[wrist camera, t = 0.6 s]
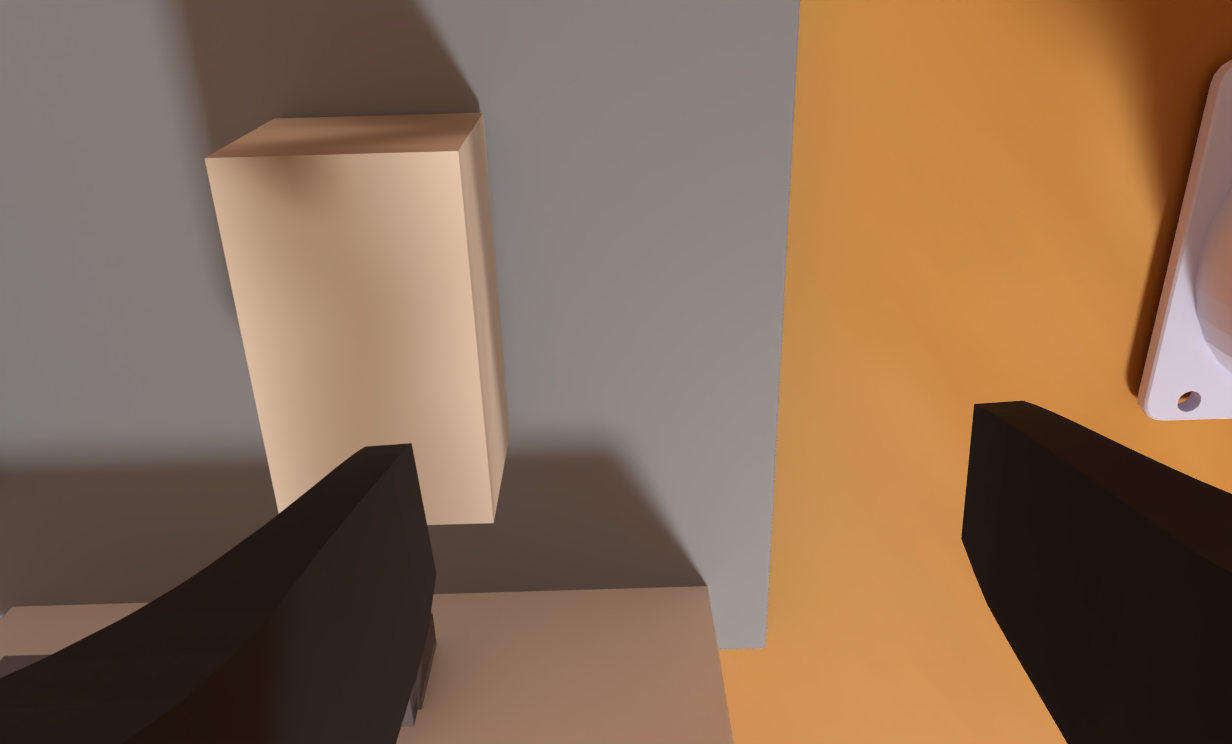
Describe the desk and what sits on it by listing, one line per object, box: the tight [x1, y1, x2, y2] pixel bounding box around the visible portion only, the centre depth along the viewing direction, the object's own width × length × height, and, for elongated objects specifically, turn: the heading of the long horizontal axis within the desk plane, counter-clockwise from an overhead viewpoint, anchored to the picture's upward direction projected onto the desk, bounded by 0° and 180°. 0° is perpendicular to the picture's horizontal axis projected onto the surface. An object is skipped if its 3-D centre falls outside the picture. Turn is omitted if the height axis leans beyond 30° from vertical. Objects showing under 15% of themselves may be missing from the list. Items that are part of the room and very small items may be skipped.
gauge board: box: [0, 0, 800, 744], centre depth 18 cm, size 22×20×6 cm
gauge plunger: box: [205, 113, 510, 727], centre depth 18 cm, size 4×11×5 cm, turn 2°
